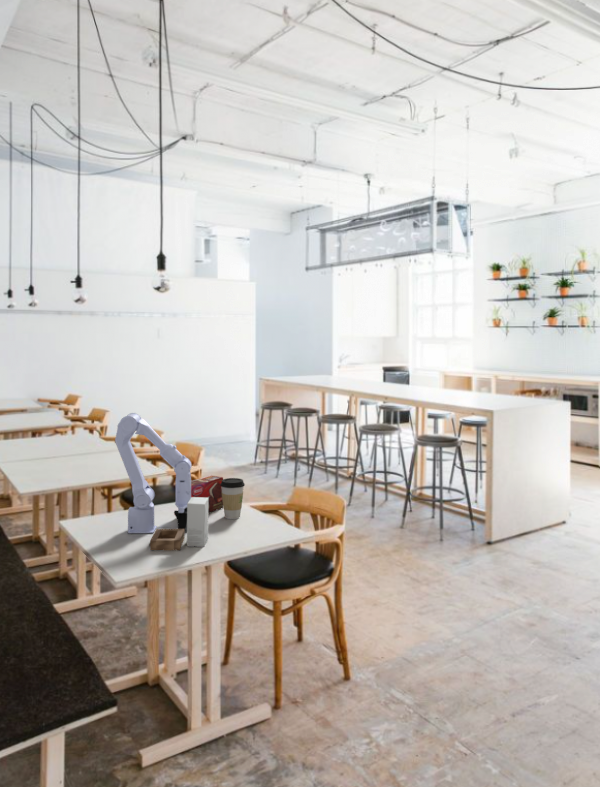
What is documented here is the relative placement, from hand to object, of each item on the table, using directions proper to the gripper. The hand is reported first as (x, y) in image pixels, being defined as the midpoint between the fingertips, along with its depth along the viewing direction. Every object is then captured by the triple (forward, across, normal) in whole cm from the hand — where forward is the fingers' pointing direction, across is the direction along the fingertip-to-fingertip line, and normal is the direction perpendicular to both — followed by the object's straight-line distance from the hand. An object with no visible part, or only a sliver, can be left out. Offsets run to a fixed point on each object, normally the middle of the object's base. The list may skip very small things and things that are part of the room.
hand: (183, 526), depth 239 cm
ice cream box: (+2, +24, -4) cm, 24 cm away
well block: (+1, -16, +4) cm, 16 cm away
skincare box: (+2, -15, -7) cm, 17 cm away
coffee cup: (+2, +17, -18) cm, 24 cm away
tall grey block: (+2, 0, 0) cm, 2 cm away
